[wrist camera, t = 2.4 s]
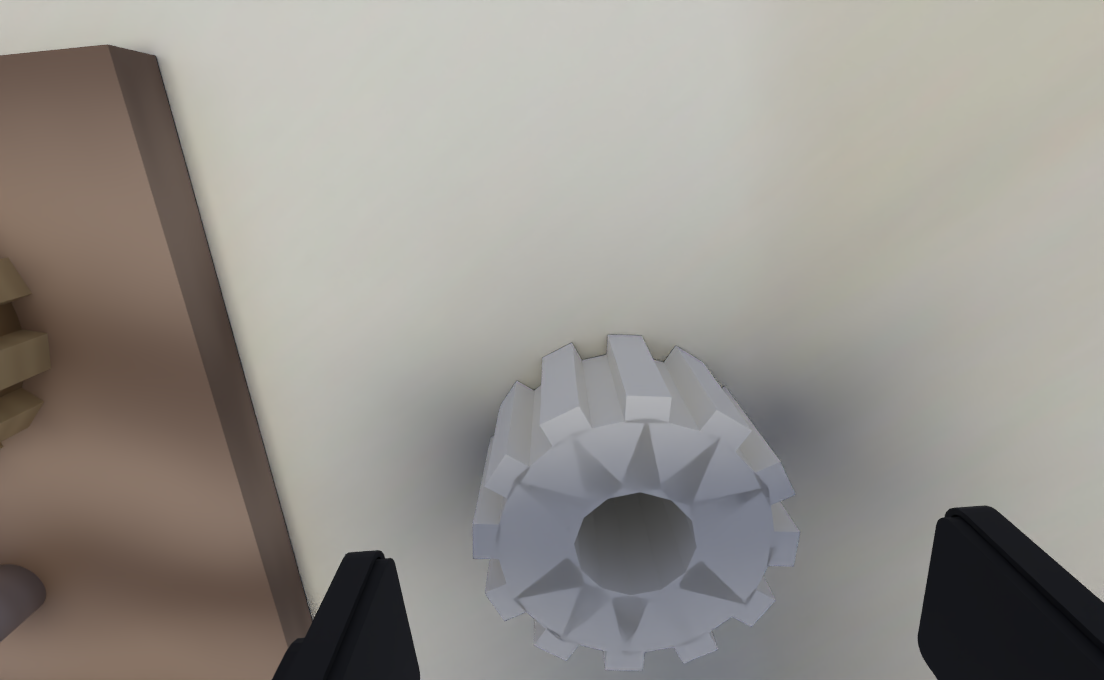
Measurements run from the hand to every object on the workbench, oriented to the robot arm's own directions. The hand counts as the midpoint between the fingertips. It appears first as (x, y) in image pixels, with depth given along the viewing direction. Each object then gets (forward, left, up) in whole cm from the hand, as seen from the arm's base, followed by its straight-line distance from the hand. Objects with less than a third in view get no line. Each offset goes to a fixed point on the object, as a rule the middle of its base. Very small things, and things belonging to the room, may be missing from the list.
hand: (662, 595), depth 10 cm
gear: (-1, 0, -7) cm, 6 cm away
